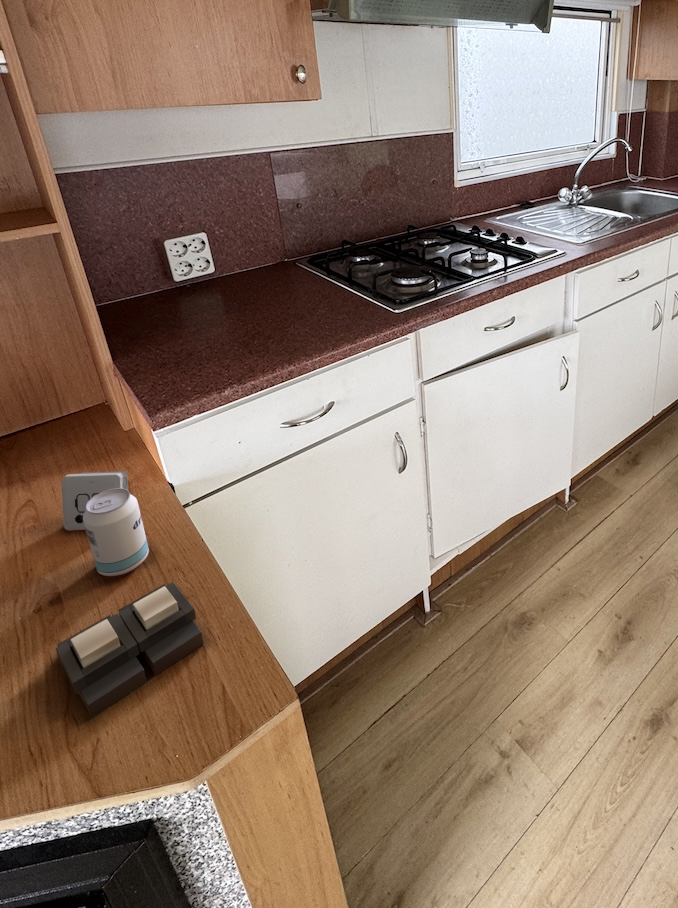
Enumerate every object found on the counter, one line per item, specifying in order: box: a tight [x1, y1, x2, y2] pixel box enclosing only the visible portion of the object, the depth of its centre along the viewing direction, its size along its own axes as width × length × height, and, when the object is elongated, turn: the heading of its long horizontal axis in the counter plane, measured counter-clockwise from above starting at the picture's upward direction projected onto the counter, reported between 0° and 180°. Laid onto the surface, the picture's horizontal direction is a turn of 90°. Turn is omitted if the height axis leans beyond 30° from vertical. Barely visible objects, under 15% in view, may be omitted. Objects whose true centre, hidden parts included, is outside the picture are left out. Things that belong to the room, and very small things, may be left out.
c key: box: [71, 619, 120, 669], centre depth 72 cm, size 4×4×2 cm
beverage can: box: [83, 488, 150, 577], centre depth 88 cm, size 7×7×12 cm
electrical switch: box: [61, 470, 129, 531], centre depth 98 cm, size 9×5×9 cm, turn 95°
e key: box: [133, 586, 179, 630], centre depth 77 cm, size 4×4×2 cm
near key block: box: [55, 612, 147, 719], centre depth 73 cm, size 12×7×4 cm, turn 50°
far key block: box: [118, 581, 205, 676], centre depth 78 cm, size 12×7×4 cm, turn 50°
